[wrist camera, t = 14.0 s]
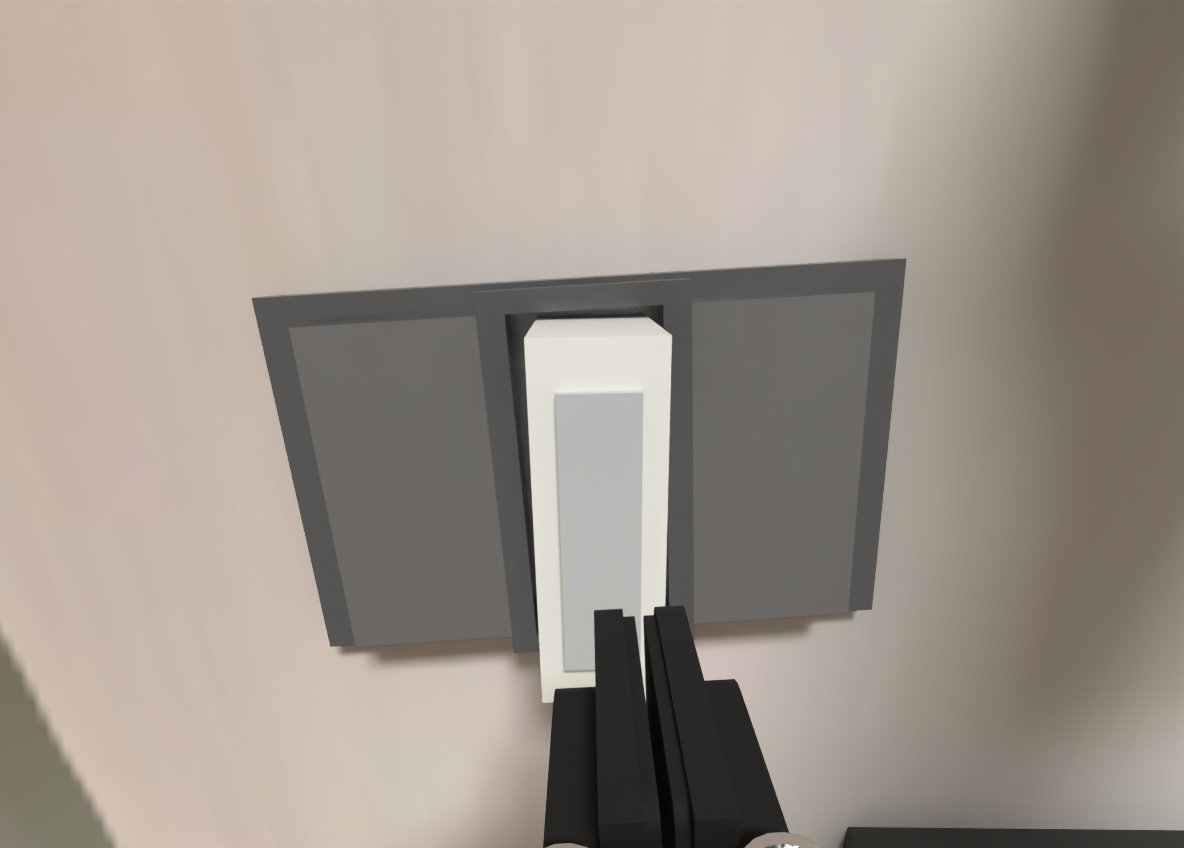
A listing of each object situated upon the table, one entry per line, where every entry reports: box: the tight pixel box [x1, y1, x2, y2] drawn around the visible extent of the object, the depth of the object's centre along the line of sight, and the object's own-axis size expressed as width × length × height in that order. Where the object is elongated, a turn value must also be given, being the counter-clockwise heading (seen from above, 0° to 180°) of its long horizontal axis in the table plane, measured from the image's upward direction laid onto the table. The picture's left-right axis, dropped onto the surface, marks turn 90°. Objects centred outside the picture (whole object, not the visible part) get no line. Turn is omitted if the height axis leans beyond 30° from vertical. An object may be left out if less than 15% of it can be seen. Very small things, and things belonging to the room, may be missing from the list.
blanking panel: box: [524, 314, 672, 703], centre depth 19 cm, size 4×12×6 cm, turn 1°
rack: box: [252, 259, 906, 653], centre depth 22 cm, size 24×15×3 cm, turn 93°
